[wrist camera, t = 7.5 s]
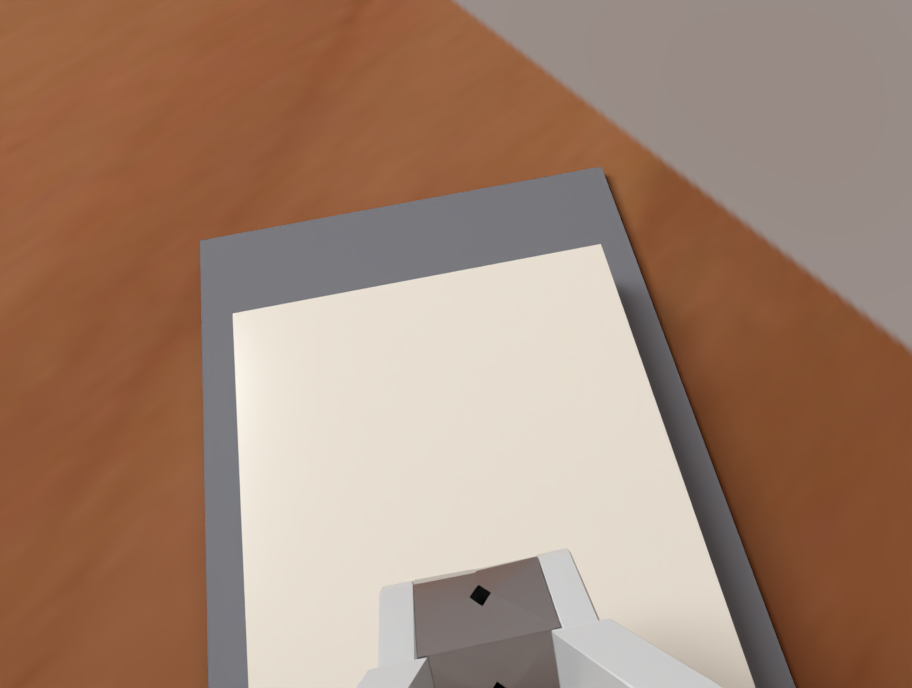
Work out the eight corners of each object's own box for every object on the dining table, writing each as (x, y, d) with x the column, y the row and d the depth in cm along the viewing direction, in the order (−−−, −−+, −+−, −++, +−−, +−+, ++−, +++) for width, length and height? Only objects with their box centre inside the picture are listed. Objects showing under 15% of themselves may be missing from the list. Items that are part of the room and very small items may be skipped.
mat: (816, 758, 14) (823, 760, 14) (218, 891, 13) (212, 896, 13) (599, 173, 21) (601, 166, 21) (203, 245, 21) (199, 240, 20)
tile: (826, 892, 11) (600, 243, 17) (262, 1022, 11) (232, 313, 17) (784, 862, 13) (591, 278, 19) (292, 974, 13) (255, 342, 19)
